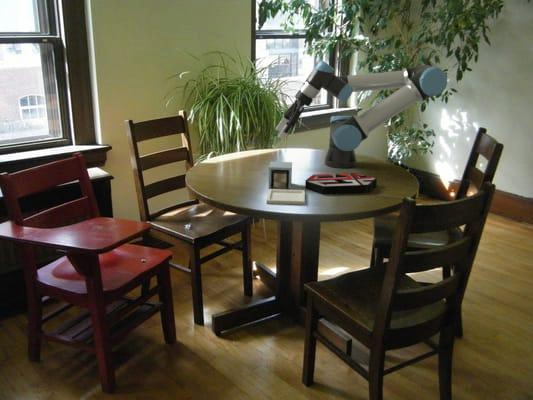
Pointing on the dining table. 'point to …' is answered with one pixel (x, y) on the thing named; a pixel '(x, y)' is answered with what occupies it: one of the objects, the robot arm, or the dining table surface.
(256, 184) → the dining table surface
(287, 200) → the tray
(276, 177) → the block
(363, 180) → the emblem
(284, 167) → the open box
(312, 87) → the robot arm
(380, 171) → the dining table surface
